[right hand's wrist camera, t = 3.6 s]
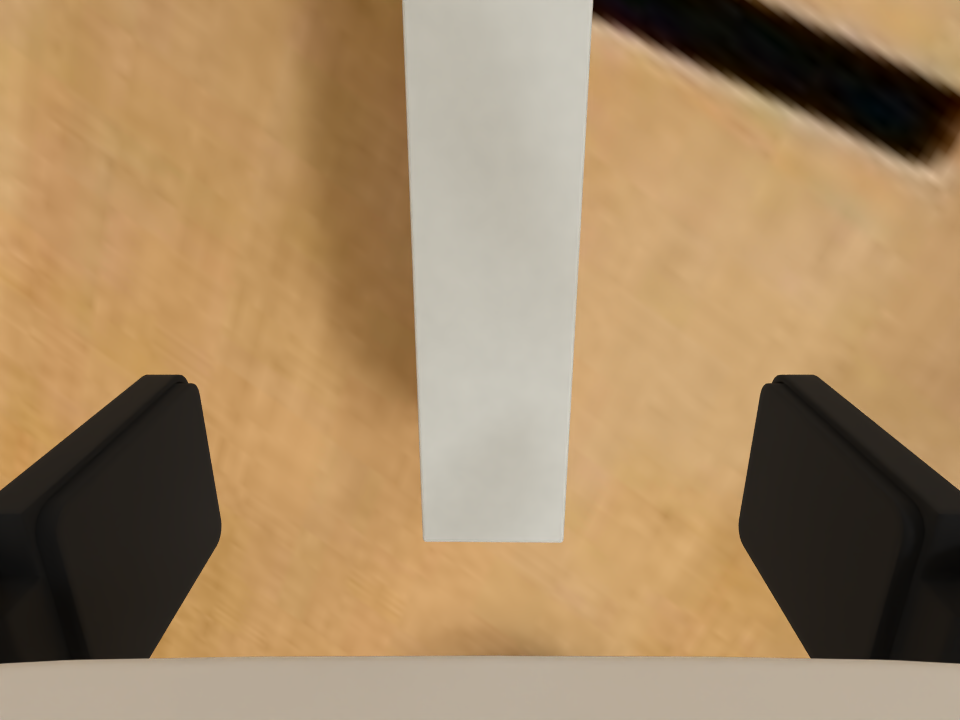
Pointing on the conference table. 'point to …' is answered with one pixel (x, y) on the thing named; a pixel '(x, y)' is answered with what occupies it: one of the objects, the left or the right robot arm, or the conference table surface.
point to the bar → (495, 257)
